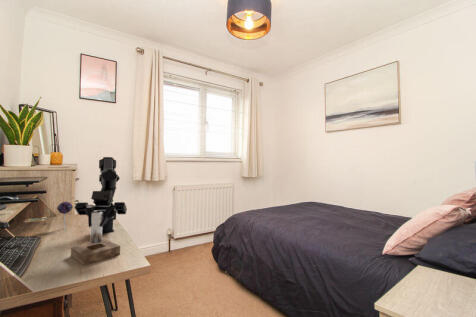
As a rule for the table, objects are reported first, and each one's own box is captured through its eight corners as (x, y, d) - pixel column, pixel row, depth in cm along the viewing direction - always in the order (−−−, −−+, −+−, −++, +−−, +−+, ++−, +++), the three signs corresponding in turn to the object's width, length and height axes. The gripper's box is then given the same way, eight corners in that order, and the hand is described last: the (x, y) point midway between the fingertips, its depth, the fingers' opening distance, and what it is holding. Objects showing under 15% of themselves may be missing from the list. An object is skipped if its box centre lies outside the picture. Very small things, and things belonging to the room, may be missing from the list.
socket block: (105, 247, 101) (105, 239, 102) (120, 254, 94) (120, 245, 94) (70, 256, 91) (71, 247, 91) (84, 265, 83) (84, 255, 83)
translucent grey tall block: (99, 239, 95) (100, 210, 96) (103, 241, 93) (104, 212, 93) (88, 242, 92) (89, 212, 92) (92, 244, 90) (94, 213, 90)
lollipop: (54, 231, 122) (56, 203, 123) (57, 227, 129) (59, 201, 129) (70, 229, 126) (71, 202, 126) (72, 226, 132) (73, 200, 132)
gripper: (77, 183, 95) (61, 215, 84) (125, 183, 99) (116, 214, 88) (85, 199, 103) (71, 231, 92) (130, 198, 106) (122, 229, 95)
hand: (95, 226), depth 91 cm, fingers closed on translucent grey tall block, 4 cm apart
